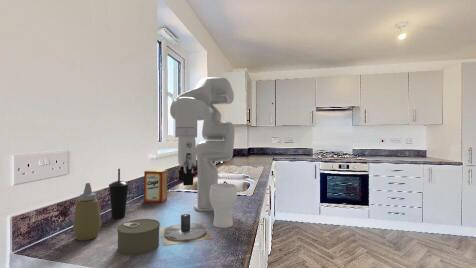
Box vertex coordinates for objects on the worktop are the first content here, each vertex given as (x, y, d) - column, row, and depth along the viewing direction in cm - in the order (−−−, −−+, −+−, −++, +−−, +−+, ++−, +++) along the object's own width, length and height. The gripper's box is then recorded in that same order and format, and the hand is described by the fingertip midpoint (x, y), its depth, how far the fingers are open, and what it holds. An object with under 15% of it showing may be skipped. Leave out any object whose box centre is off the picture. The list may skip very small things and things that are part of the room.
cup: (240, 222, 100) (241, 184, 100) (231, 231, 90) (231, 189, 90) (216, 219, 104) (216, 182, 104) (204, 227, 93) (204, 187, 94)
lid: (200, 223, 97) (200, 208, 97) (210, 237, 84) (210, 219, 84) (162, 228, 92) (162, 211, 92) (166, 243, 79) (166, 224, 79)
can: (141, 260, 69) (142, 235, 69) (107, 253, 73) (107, 229, 73) (167, 243, 80) (167, 221, 80) (136, 237, 84) (136, 217, 84)
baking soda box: (167, 199, 134) (167, 169, 134) (161, 202, 128) (161, 171, 128) (150, 198, 136) (150, 168, 136) (144, 201, 129) (144, 170, 129)
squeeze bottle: (81, 233, 88) (81, 181, 88) (105, 232, 88) (105, 180, 88) (67, 243, 79) (68, 185, 80) (94, 242, 80) (94, 185, 80)
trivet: (202, 223, 98) (202, 222, 98) (214, 239, 83) (214, 238, 83) (159, 228, 92) (159, 227, 92) (163, 246, 77) (163, 245, 77)
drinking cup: (120, 220, 101) (121, 170, 101) (104, 219, 102) (104, 169, 103) (132, 214, 108) (132, 167, 108) (116, 213, 110) (117, 167, 110)
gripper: (202, 133, 81) (202, 186, 81) (192, 133, 97) (191, 178, 97) (178, 132, 78) (178, 188, 78) (172, 133, 95) (171, 179, 94)
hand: (185, 182), depth 88 cm, fingers open, 9 cm apart
